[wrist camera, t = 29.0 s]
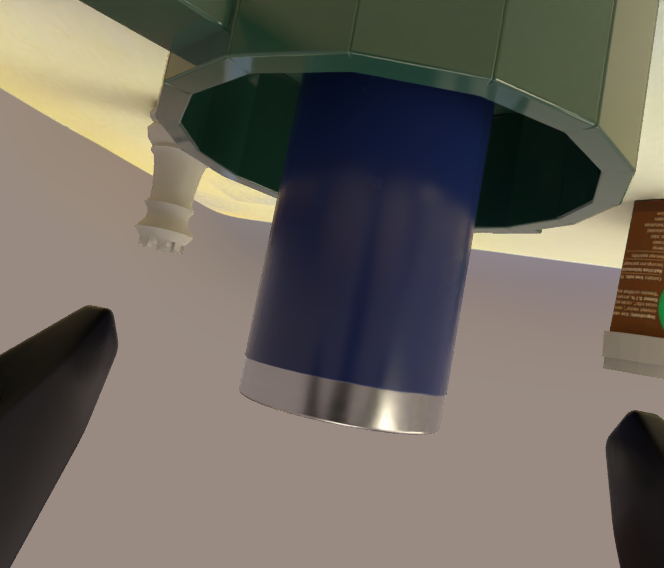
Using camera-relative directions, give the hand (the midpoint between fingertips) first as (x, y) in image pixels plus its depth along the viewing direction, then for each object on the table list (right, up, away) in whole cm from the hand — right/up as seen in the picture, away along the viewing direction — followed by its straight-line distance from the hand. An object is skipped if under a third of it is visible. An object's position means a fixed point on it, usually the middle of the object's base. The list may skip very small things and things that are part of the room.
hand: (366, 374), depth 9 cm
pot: (+2, +11, +9) cm, 14 cm away
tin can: (+2, +10, +9) cm, 14 cm away
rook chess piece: (-9, +12, +22) cm, 27 cm away
